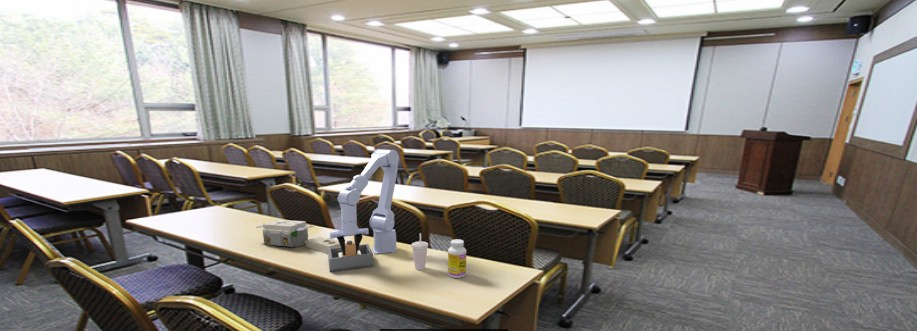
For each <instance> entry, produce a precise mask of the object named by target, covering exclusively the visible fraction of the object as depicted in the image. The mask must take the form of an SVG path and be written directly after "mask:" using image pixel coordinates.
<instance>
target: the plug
mask: <svg viewBox="0 0 917 331" xmlns="http://www.w3.org/2000/svg"><path fill="white" fill-rule="evenodd" d="M353 255H356V244H355V242H354V241H353V240H347V241H346V242H345V255H344V257H345V256H353Z"/></svg>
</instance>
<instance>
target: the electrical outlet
mask: <svg viewBox="0 0 917 331" xmlns="http://www.w3.org/2000/svg"><path fill="white" fill-rule="evenodd" d="M305 247H306V248H309V249H312V250H315V251H317V252H320V253H323V254H326V255H328V248H335V247H341V246H340V243H339V241H338V239H335V238H333V239H330V237H328V238H325V237H322V236H316V237H314V238H308V240H306V242H305Z"/></svg>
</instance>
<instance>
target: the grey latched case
mask: <svg viewBox="0 0 917 331" xmlns="http://www.w3.org/2000/svg"><path fill="white" fill-rule="evenodd" d="M314 227H315V225H314V224H313V225H312V224H311V225H310V224H309V225H307V222H306V221H303V220H288V219H287V220H286V219H276V220H273V221H269V222H266V223H263V224H262V225H258V226H256V227H255V228H256V229H257V228H258V229H259V228H262V236H263V238H262V239H263V244H264V245H269V246H270V245H271V246H278V247H279V246H280V247H282V246H283V247H290V248H297V247H300V246H303V245H306V240H309V229H310V228H314Z"/></svg>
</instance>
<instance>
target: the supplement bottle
mask: <svg viewBox="0 0 917 331" xmlns="http://www.w3.org/2000/svg"><path fill="white" fill-rule="evenodd" d="M464 241H465V240H463V239H460V238H459V239H457V238H456V239H451V241H450V246H449V248H448V249H447V274H448V277H450V278H454V279H462V278H464V277H465V276H466V275H467V249H466V248H465V242H464ZM461 277H462V278H461Z"/></svg>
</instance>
